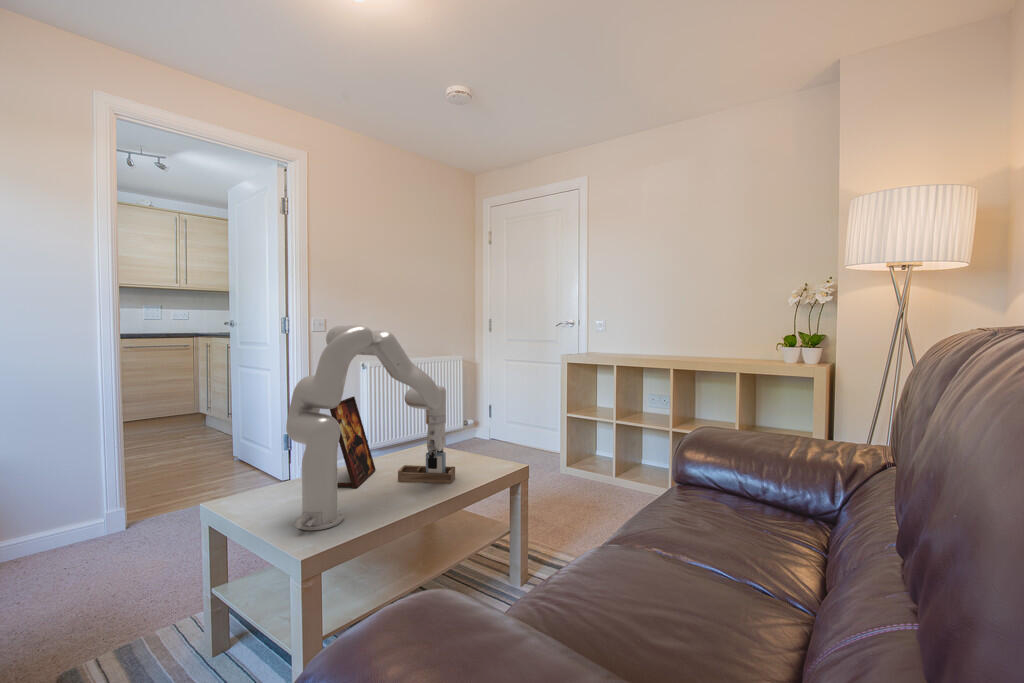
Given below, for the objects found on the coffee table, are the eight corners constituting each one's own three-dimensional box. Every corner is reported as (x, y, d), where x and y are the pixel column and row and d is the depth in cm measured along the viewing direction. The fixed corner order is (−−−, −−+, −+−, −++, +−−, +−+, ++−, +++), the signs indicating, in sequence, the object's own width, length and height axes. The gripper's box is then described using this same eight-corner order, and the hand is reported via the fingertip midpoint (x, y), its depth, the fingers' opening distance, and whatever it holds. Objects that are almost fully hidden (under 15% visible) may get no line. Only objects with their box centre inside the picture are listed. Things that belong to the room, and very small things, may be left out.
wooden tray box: (450, 483, 169) (450, 472, 168) (397, 481, 170) (397, 470, 170) (455, 477, 175) (455, 466, 175) (404, 476, 177) (404, 465, 177)
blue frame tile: (444, 478, 171) (444, 454, 171) (425, 477, 172) (425, 453, 172) (445, 476, 173) (445, 452, 173) (427, 475, 174) (427, 452, 174)
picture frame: (357, 488, 163) (356, 404, 163) (327, 488, 163) (327, 404, 163) (375, 471, 184) (375, 396, 184) (349, 470, 184) (349, 396, 184)
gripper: (439, 424, 163) (439, 472, 164) (451, 415, 180) (451, 458, 181) (419, 423, 164) (419, 471, 164) (432, 415, 181) (432, 458, 182)
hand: (435, 464), depth 173 cm, fingers open, 9 cm apart
